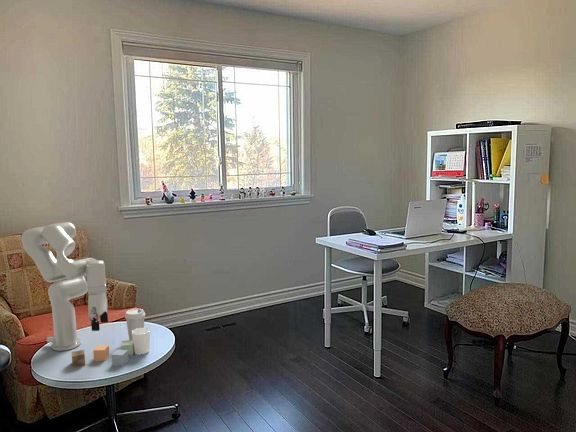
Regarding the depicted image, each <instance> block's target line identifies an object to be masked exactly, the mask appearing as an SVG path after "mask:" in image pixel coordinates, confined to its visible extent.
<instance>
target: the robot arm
mask: <svg viewBox="0 0 576 432" xmlns="http://www.w3.org/2000/svg"><path fill="white" fill-rule="evenodd" d="M76 234H77V230H76V227H75V225H74V224H73V223H71V222H69V221H65V222H63V221H62V222H57V223H51V224H47V225H45V226H44V225H43V226H39V227H33V228H29V229H27V230H25V231H24V232H23V233H22V234H21V244H22V247H23V249H24V251H25V252H26V253H27V255H28V256H30V258H31V260H33V262H34V263H35V265H36V267H37V269H38V271H39V273H40V275H41V276H42V279H44V281H45V282H47V283H51V285H50V286H49V287H48V288H47V289H48V291H47V294H48V298H49V301H50V305H51V311H52V312H51V313H52V314H51V315H52V325H53V336H47V337H46V343H47V344H48V343H52V344H51V349H52V351H53V350H54V351H55V352H56V351H57V352H58V351H59V352H61V351H62V352H63V351H69V350H73V349H75V348H78V347H79V346H80V345H81V344H82V341H81V339H80V338H78V334H77V333H78V331H77V320H76V310H75V306H74V305H73V304H72V303H71V302H70V300H72V299H75V298H79V297H82V296H84V295H85V294H88V296H87V297H88V299H87V302H88V303H87V305H88V306H87V307H88V308H87V309H88V310H87V311H88V317H89V321H90V325H91V331H92V332H100V323H101V324H102V323H108V322H109V316H108V298H107V297H108V296H107V279H106V277H107V276H106V265H105V262H104V260H101V259H100V260H98V259H96V258H93V257H87V258H80V259H77V260H74V259H72V258H67V257H68V256H70V254H72V253H73V251H74V250H75V249H76V242H75V241H74V240H73V239H74V238H75V237H76V236H77V235H76ZM42 245H50V247H51V248H52V249H53V250H54V251H55V252H56V256H55V255H54V254H53V252H52V251H51V250H49V249H48V248H47V247H45V246H42ZM85 277H86V278H85ZM53 282H54V283H53ZM99 319H100V321H99Z"/></svg>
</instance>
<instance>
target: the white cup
mask: <svg viewBox="0 0 576 432" xmlns="http://www.w3.org/2000/svg"><path fill="white" fill-rule="evenodd" d="M150 333H151V331H150V328H148V327H144V328H138V329H135V330H133V331H132V341H133V348H134V353H133V354H135V355H138V356H139V355H140V356H142V355H146V354H147V353H149V352H150V345H151V343H150V340H151V339H150V337H151V336H150V335H151V334H150ZM141 354H142V355H141Z"/></svg>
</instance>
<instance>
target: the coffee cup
mask: <svg viewBox="0 0 576 432" xmlns="http://www.w3.org/2000/svg"><path fill="white" fill-rule="evenodd" d="M145 316H146V312H145V311H144V309H142V308H132V309H129V310H126V312H125V315H124V318H125V320H126V321H125V322H126V327H127V334H128V339H129V340H132V331H133V330H135V329H138V328H145Z"/></svg>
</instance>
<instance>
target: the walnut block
mask: <svg viewBox="0 0 576 432" xmlns="http://www.w3.org/2000/svg"><path fill="white" fill-rule="evenodd" d="M71 364H72V368H76V367H77V368H78V367H82V366H86V354H85V349H79V350H74V351H71Z"/></svg>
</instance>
